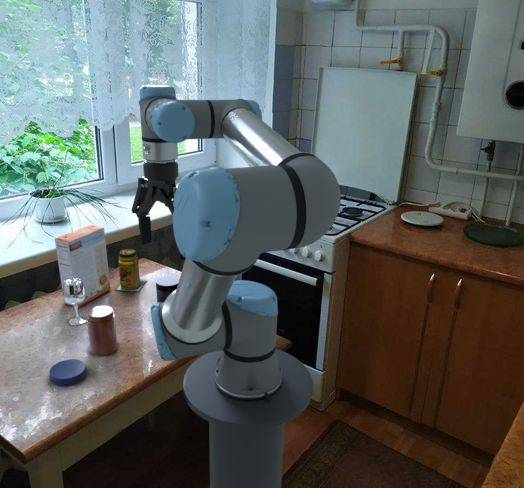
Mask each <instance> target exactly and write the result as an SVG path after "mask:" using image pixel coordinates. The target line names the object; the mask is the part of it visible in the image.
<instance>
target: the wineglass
mask: <svg viewBox="0 0 524 488" xmlns="http://www.w3.org/2000/svg"><path fill="white" fill-rule="evenodd" d="M85 295H86V292H85V287H84V284H83V282H82V280H81V279H79V278H72V279H68V280H66V281H64V283H63V291H62V298H63V297H64V298H63V301H64V300H65V301H66V302H67V303H69V304H74V306H73V308H74V311H75V317H72V318H71V319H69V320H68V323H69V325H72V326H80V325H82V324H85V323H87V317H84V316H79V313H78V308H79V307H78V305H77V304H78V303H80V302H82V301H83V300H84V298H85Z"/></svg>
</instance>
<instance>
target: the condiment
mask: <svg viewBox="0 0 524 488" xmlns="http://www.w3.org/2000/svg"><path fill="white" fill-rule="evenodd" d="M139 264H140V263H139V258H138V255H137V250H135V249H131V248H125V249H122V250H120V251H119V252H118V272H119V286H117V288H116V289H115V290H116V291H123V292H140V290H141V289H142V288H143V286H144V285H145V283H146V282H147V279H141V278H140V266H139Z"/></svg>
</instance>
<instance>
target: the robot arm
mask: <svg viewBox="0 0 524 488" xmlns="http://www.w3.org/2000/svg"><path fill="white" fill-rule="evenodd" d="M138 95H139V97H138V98H139V99H138V105H139V116H140V126H141V127H140V129H141V130H140V131H141V146H142V147H141V148H142V159H143V160H144V161H143V162H142V169H143V176H140V177H138V178H137V188H136V192H135V196H134V199H133V202H132V205H131V206H132V207H131V213H132V214H134V215H136V217H137V219H138V229H139V238H140V239H139V240H140V245H142V246H144V245H148V244H151V243H153V242H152V241H153V240H152V222H151V221H152V220H151V216H150V215H151V213H150V211H151V210H152V208H153V207H154V205H155V204H156V202H159V203H161V204H164V206H165V207H166V208H168V210H169V212H170V214H171V216H172V229H173V235H174V240H175V243H176V246H177V250H178V251H177V252H178V254H177V255H178V260H179V261H183V260H184V263H183V266H182V269H181V273H180V276H179V283H178V286H177V289H176V290H175V291H174V292H172V293H171V294H170V295H169V296H168V297H167V299H166V300H165V302H164V303H163V302H159V303H157V302H156V303H153V304H152V305H151V306H150V317H151V321H152V327H153V332H154V337H155V342H156V348H157V353H158V356H159V358H160V359H161V360H163V361H180V359H185V358H189V357H195V356H199V355H200V356H201V355H205V354H207V353H210V352H215V351H220V350H223V351H222V353H221V356H220V358H219V359H218V361H217V363H218V364H216V365H217V367H216V370H215V385H216V387H217V389H218V390H219V391H220V392H221V393H222V394H224V395H225V396H227V397H229V398H232V399H235V400H239V401H258V400H263V399H267V401H268V402H270V401H271V399H270V396H272V395H274V394H275V393H276V392H277V391H278V390H279V389H280V387H281V385H282V371H281V367H280V365H279V364H278V359H277V355H276V352H275V349H276V345H277V328H278V327H277V326H278V315H279V310H278V296H277V294H276V292H275V291H274V290H273V289H272V288H271V287H270V286H269V287H268V286H267V285H265V284H263V283H261V282H260V283H259V282H257V281H253V280H246V279H243V280H242V279H239V280H236V279H237V277H238V276H239V275H242V274H244V273H246V272H247V271H249V270H250V269H251V268H253V267H254V265H255V264H256V263H257V261H258V259H259V257H260V255H261V254H263V253H272V252H279V251H287V250H294V249H299V248H304V247H307V246H310V245H312V244H314V243H317V242H318V241H319V240H320V239H321V238H322V237H324V236H325V235H326V234H327V233H328V232H329V230H330V229H331V228H332V227H333V225H334V223H335V221H336V219H337V218H338V215H339V211H340V209H341V201H342V200H341V197H342V196H341V189H340V185H339V181H338V179H337V177H336V175H335V173H334V172H333V171H332V169H331V167H329V166H328V165H327V164H326V163H325V162H324V161H323V160H322V159H320V158H319V157H317V155H315V154H313V153H311V152H307V151H300V150H299V149H298V148H296V147H295V146H294V145H293V144H291V143H290V142H289V141H288V140H286V139H285V138H284V137H283V136H282V135H280V133H278V132H277V131H276V130H275V129H274V128H272V127H271V126H270V125H269V124H267V123H266V122H265V121H264V120H263V112H262V109H261V107H260V105H259V103H258V102H257V101H256V100H253V99H243V98H237V99H177V93H176V89H175V87H174V86H172V85H166V84H165V85H162V84H146V85H142V86H140V88H139V90H138ZM208 139H212V140H213V139H223V140H224V141H225V142H226V143H228V144H229V146H231V148H232V149H233V150H234V151H235V152H236V153H237V154H238V155H239V156H240V158H241V159H242V160H243V161H244V162H245V163H246V164H247V165H248V166H246V167H243V166H242V167H228V168H227V167H226V168H224V167H220V166H214V167H209V168H207V169H199V170H193V171H190V172H188V173H187V174H185V175H184V176H183V177H182V178H181V180H180V181H179V182H178V185H177V182H176V180H177V178H179V162H178V161H177V159H178V158H179V146H178V144H179V143H183V142H184V141H187V140H208Z"/></svg>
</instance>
